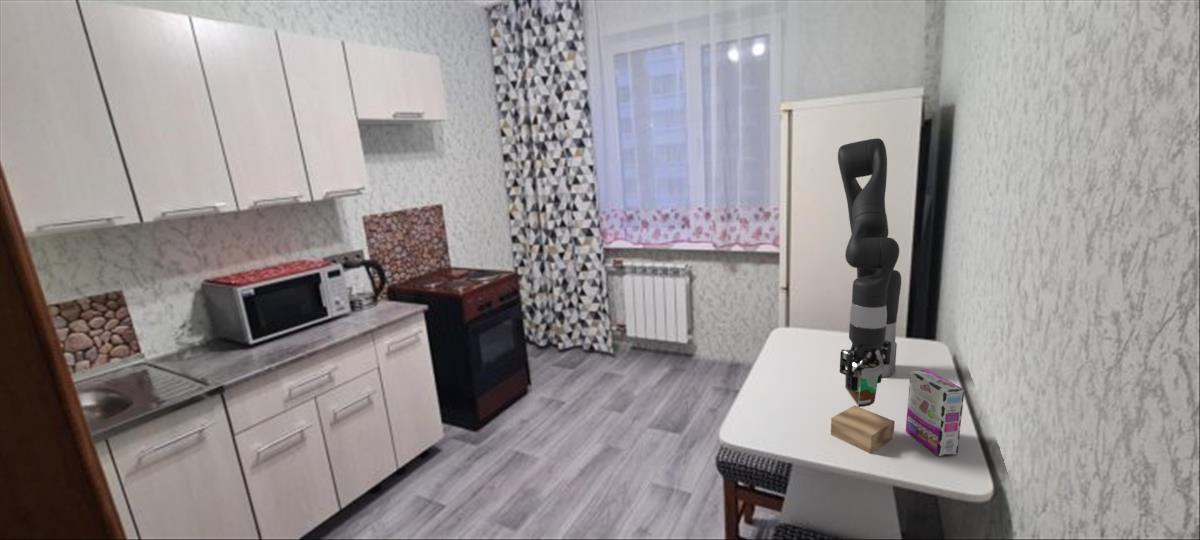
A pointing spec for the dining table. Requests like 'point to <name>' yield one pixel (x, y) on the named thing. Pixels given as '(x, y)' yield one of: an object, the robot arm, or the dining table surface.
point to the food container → (866, 383)
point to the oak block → (862, 428)
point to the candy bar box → (934, 412)
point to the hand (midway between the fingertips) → (863, 385)
